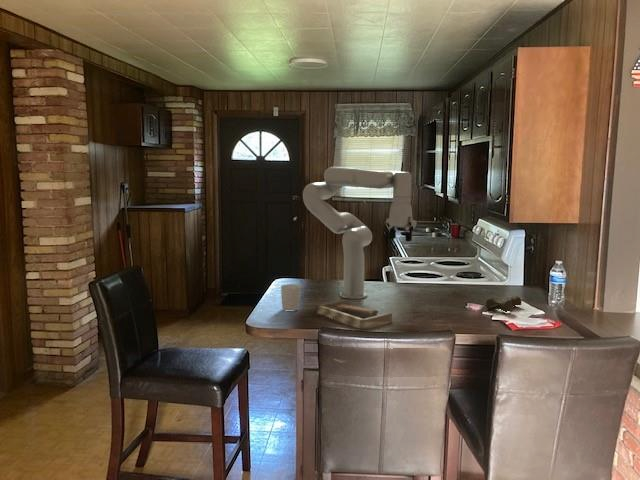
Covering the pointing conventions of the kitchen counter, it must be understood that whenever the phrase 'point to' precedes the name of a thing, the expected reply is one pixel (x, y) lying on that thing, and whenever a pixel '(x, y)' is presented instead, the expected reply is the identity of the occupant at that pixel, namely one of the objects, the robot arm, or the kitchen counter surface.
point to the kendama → (503, 303)
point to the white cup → (290, 296)
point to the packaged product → (357, 311)
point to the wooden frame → (352, 320)
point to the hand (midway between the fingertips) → (400, 239)
